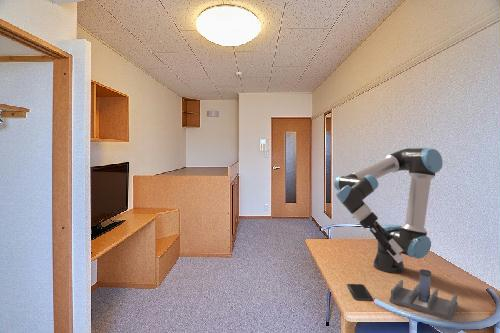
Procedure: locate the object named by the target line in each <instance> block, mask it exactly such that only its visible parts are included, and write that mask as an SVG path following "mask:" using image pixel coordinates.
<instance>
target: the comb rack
mask: <svg viewBox="0 0 500 333" xmlns="http://www.w3.org/2000/svg"><path fill="white" fill-rule="evenodd" d="M438 294H439V289H438V288H435V289H434V290H433V292H432V294H430V298H429V300H428V302H422V301H420V300H419V283H417V284H416V286H415V287H414V288H413V290H412V289H409V288H405V287H404V280H403V279H400V281H398V282H397V284H395V286H393V287H392V288H391V290H390V297H389V302H390V303H392V304H396V305H399V306H402V307H405V308H409V309H412V310H415V311H418V312H422V313H425V314H429V315H432V316H436V317H439V318H442V319H445V320H449V321H453V319H454V316H455V314H456V311H457V308H458V307H459V302H458V293H457V292H455V293H454V294H453V296H452V298H451V300H450V299H447V298H443V297H439V296H438Z"/></svg>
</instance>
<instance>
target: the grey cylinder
mask: <svg viewBox="0 0 500 333" xmlns="http://www.w3.org/2000/svg"><path fill="white" fill-rule="evenodd" d="M418 275H419V279H418V280H419V281H418V282H419V283H418V284H419V300H420V301H422V302H428V300H429V298H430V295H431V277H432V271H431V270H429V269H419V274H418Z"/></svg>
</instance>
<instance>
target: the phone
mask: <svg viewBox="0 0 500 333" xmlns="http://www.w3.org/2000/svg"><path fill="white" fill-rule="evenodd" d="M346 286H347V288H348V291H349V293H350V295H351V296H352V298H353V300H355V301H367V302H372V301H374V297H373V296H372V295H371V293H370V292H369V290H368V289H367V287H366V286H365V285H364V284H359V283H347V284H346Z"/></svg>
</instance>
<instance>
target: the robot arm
mask: <svg viewBox="0 0 500 333" xmlns="http://www.w3.org/2000/svg"><path fill="white" fill-rule="evenodd" d="M443 165H444V164H443V157H442V155H441V152H439V150H438V149H435V148H431V147H430V148H429V147H428V148H427V147H424V148H423V147H421V148H418V147H416V148H415V147H414V148H411V147H410V148H404V149H400V150H398V151H396V152H395V151H394V152H393V153H390V154H388V155H386V156H385V157H384V159H382V160H379V161H377V162H375V163H373V164H371V165H368V166H365V167H363V168H361V169H359V170H356V171H355V172H352V173H350V174H348V175H346V176H345V175H341V176H337V177H336V178H335V179H334V182H333V185H334V188H335V189H336V191H338V192H337V193H336V197H337V199H338V201H340V203H341V204H342V205H343V206H344V208H346V210H347V211H348V212H349V213H350V214H351V215H352V218H353V219H355V220H356V221H358V222H359V225H360V226H361V227H363V229H368V228H369V232H371V234H373V236H374V237H375V239H376V240H377V249H376V250H377V251H376V255H375V257H374V259H373V267H374V268H375V269H376V270H379V271H382V272H385V273H394V274H395V273H397V274H398V273H402V272H404V271H405V264H404V257H403V256H402V254H403V255H405V256H408V257H409V258H415V259H419V260H420V259H422V258H425V257H426V256H427V255H428V254H429V253H430V250H431V247H432V241H431V238H430V237H428V231H427V229H426V228H425V224H426V217H427V208H428V204H429V197H430V196H429V195H430V188H431V181H432V180H433V179H434V178H435V177H436V173H439V172H440V171H441V170H442V169H443ZM400 171H408V175H409V176H410V178H411V180H410V185H409V186H410V187H409V191H408V193H409V194H408V200H407V207H406V214H405V221H404V225H402V226H401V225H399V224H380V223H379V222H378V221H377V220H378V219H379V217H378V215H376V213H374V212H373V211H372V209H371V208H370V207H369V206H368V205H367V203H366V202H364V200H365V199H366V198H367V197H368V196H370V195H371V194H372V193H374V192H375V190H377V189H378V187H379V181H378V179H379V178H381V177H383V176H385V175H387V174H390V173H398V172H400Z"/></svg>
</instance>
